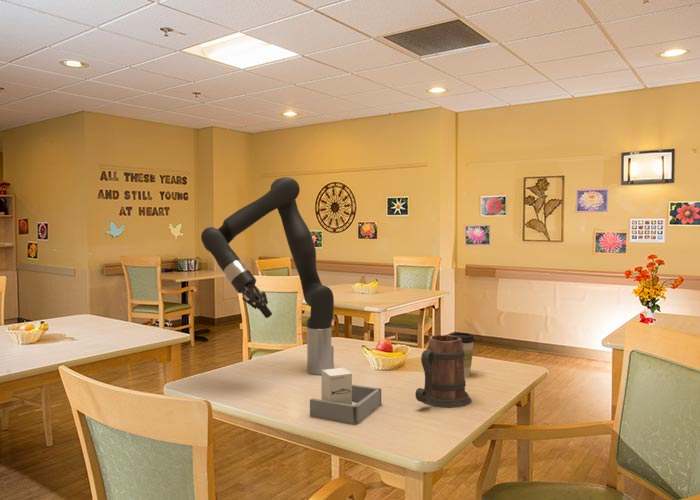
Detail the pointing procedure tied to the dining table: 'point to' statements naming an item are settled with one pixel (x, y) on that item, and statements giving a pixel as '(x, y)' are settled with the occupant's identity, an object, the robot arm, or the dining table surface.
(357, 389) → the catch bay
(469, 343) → the coffee cup
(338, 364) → the dining table surface
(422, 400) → the tankard
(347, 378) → the supplement box
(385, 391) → the dining table surface
